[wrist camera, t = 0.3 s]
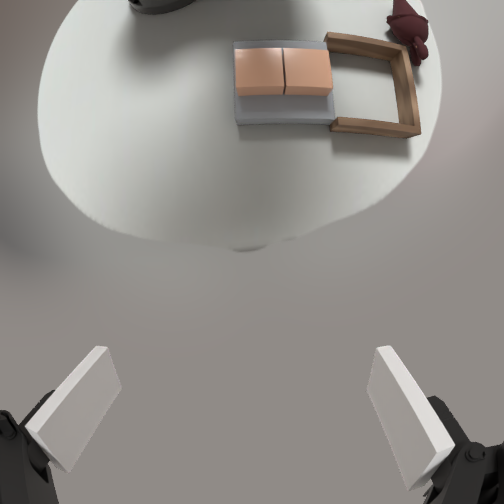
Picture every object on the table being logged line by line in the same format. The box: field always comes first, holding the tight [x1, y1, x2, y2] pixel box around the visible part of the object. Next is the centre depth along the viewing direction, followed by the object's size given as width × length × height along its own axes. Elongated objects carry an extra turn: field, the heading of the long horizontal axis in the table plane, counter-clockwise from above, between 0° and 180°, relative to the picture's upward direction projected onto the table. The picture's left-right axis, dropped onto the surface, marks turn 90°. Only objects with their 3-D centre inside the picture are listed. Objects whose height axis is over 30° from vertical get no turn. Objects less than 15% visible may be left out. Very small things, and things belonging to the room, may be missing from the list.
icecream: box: [386, 0, 428, 66], centre depth 26 cm, size 7×7×15 cm
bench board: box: [233, 40, 335, 125], centre depth 31 cm, size 12×12×3 cm
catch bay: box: [323, 32, 421, 139], centre depth 30 cm, size 14×12×4 cm
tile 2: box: [282, 48, 333, 96], centre depth 28 cm, size 6×6×3 cm
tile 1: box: [235, 48, 284, 96], centre depth 28 cm, size 6×6×3 cm
